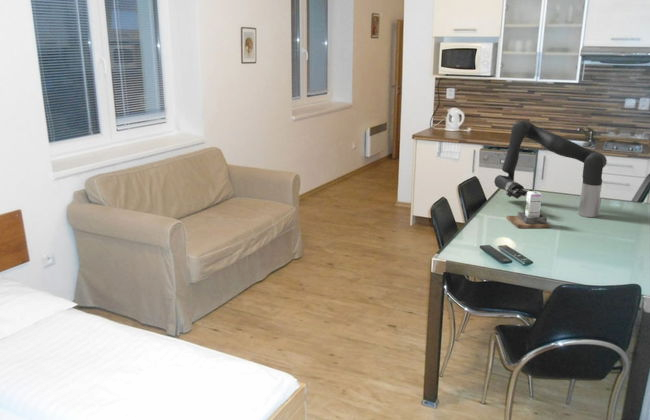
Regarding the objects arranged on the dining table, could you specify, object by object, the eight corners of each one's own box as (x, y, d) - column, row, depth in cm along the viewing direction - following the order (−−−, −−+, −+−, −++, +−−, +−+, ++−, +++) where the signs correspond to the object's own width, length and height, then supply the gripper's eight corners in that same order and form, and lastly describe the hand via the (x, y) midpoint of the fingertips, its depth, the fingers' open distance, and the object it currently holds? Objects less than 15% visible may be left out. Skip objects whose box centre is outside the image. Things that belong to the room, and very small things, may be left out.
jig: (536, 218, 300) (537, 210, 299) (549, 228, 285) (550, 219, 283) (506, 218, 299) (507, 210, 298) (517, 228, 284) (518, 219, 283)
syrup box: (539, 222, 289) (542, 194, 285) (527, 221, 289) (530, 193, 285) (535, 218, 295) (538, 191, 290) (523, 218, 294) (526, 191, 290)
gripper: (502, 182, 313) (513, 189, 297) (528, 182, 314) (540, 189, 298) (501, 195, 315) (511, 203, 300) (526, 195, 316) (538, 203, 300)
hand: (526, 196), depth 299 cm, fingers open, 8 cm apart
